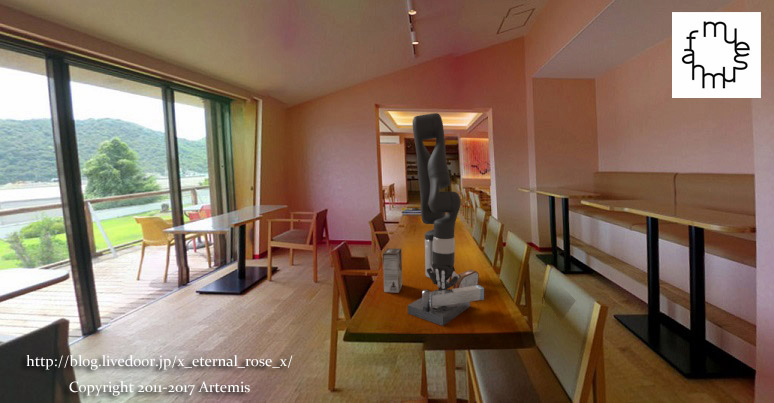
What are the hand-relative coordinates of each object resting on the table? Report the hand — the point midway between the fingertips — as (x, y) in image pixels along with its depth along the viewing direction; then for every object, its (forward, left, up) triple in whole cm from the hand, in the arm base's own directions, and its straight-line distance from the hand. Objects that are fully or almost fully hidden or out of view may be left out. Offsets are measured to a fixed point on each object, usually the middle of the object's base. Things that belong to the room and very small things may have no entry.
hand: (442, 297), depth 113 cm
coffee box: (-4, -27, -5) cm, 27 cm away
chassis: (+1, -1, -4) cm, 5 cm away
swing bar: (0, +5, 0) cm, 5 cm away
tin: (-19, -1, -5) cm, 20 cm away
